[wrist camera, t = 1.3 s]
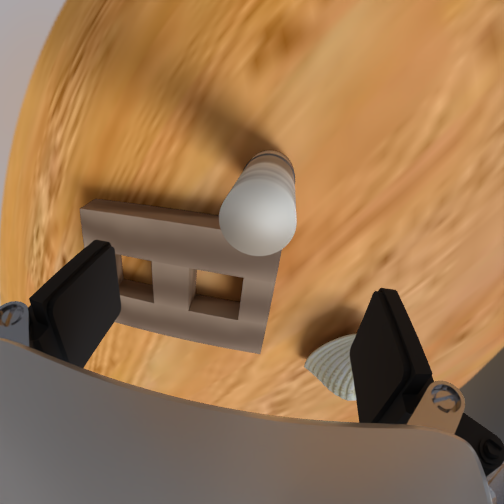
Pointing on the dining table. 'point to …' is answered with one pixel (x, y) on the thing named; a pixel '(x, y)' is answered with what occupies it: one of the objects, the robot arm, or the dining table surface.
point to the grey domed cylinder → (261, 206)
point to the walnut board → (183, 274)
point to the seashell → (334, 366)
